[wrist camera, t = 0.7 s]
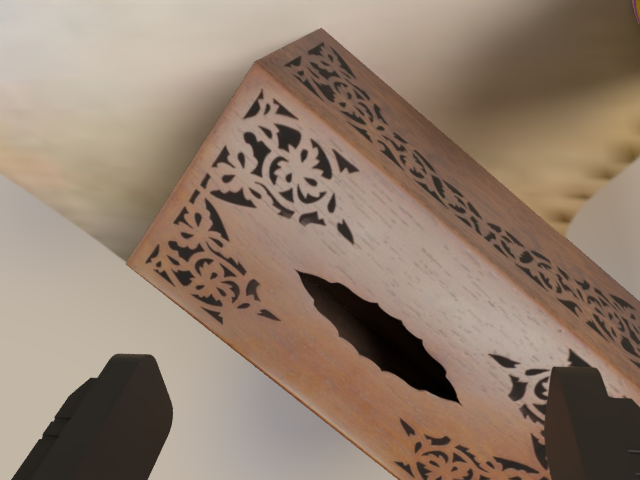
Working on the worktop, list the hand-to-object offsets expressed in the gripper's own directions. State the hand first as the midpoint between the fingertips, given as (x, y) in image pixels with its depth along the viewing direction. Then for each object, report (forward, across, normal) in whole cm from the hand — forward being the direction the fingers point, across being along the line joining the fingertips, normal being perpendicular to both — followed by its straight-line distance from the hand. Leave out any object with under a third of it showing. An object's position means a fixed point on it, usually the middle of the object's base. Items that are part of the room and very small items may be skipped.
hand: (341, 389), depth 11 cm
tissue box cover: (+24, 0, +12) cm, 27 cm away
